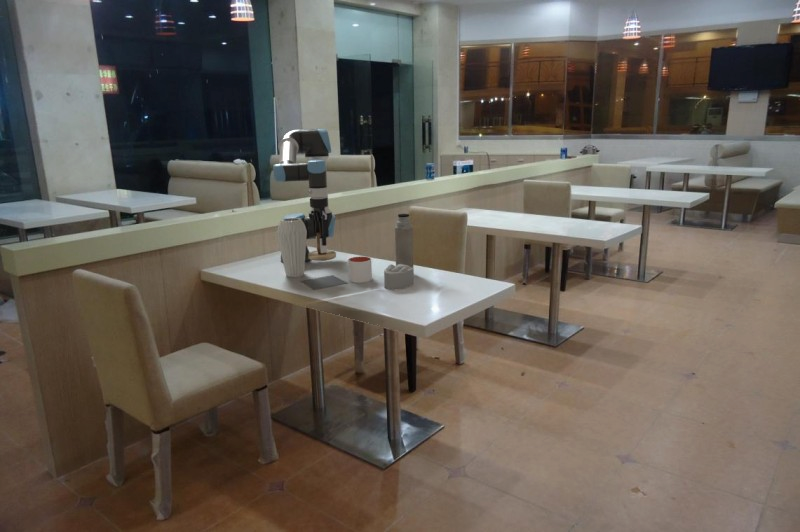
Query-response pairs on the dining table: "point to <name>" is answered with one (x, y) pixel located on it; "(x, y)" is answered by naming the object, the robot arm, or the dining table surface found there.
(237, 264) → the dining table surface
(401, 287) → the lumpy-topped squat cylinder
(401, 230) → the thermos bottle
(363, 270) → the cup
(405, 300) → the dining table surface
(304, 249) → the vase
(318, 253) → the lid
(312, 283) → the mat
